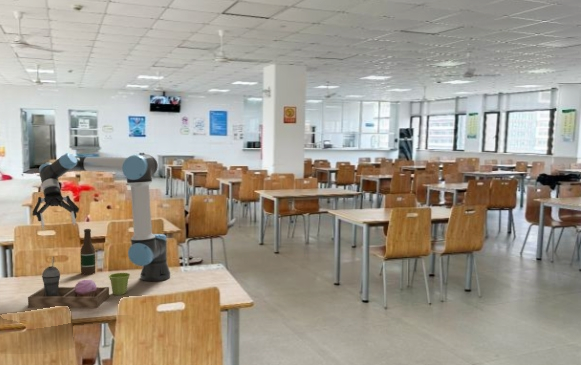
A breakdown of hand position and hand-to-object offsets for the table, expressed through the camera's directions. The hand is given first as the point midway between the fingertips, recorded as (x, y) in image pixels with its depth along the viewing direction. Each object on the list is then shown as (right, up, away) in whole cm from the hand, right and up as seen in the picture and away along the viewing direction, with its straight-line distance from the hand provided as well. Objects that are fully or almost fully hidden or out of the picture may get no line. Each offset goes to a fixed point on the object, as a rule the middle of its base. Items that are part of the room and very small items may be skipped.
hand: (59, 224), depth 229 cm
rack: (+11, -33, -13) cm, 37 cm away
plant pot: (+28, -32, 0) cm, 43 cm away
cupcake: (+18, -33, -13) cm, 40 cm away
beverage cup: (+3, -33, -14) cm, 36 cm away
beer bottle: (-1, -29, +34) cm, 45 cm away
